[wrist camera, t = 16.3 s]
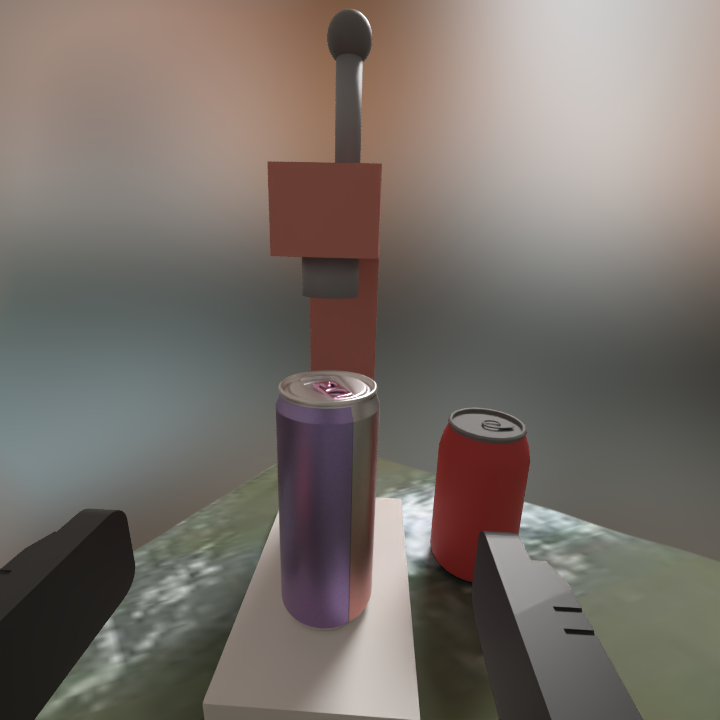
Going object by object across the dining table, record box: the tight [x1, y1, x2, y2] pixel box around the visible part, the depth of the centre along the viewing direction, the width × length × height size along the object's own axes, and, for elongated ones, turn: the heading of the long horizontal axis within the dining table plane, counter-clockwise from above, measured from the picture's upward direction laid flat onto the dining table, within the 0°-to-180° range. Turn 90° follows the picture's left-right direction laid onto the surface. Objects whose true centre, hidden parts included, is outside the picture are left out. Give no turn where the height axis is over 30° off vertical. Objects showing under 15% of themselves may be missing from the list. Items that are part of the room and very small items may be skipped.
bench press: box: [202, 9, 420, 720], centre depth 23 cm, size 11×18×39 cm, turn 177°
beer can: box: [430, 408, 530, 583], centre depth 30 cm, size 7×7×12 cm
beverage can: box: [276, 370, 380, 631], centre depth 24 cm, size 6×6×15 cm
